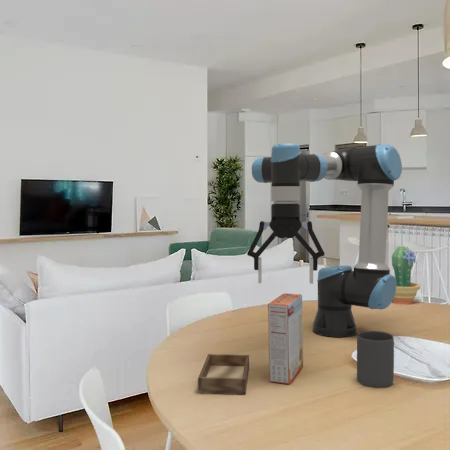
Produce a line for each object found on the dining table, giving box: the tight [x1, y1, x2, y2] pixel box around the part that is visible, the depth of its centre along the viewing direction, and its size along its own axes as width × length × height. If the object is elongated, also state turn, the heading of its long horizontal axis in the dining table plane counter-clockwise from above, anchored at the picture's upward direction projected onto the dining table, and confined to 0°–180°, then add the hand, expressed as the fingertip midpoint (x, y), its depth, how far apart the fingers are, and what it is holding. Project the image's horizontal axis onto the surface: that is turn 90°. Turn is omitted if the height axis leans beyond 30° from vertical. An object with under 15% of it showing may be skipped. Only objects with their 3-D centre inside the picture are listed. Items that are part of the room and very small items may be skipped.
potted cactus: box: [391, 245, 421, 305], centre depth 222 cm, size 15×15×25 cm
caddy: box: [197, 353, 250, 395], centre depth 130 cm, size 12×19×4 cm, turn 174°
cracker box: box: [267, 292, 304, 385], centre depth 133 cm, size 14×6×21 cm, turn 156°
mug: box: [356, 330, 395, 389], centre depth 130 cm, size 14×9×12 cm
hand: (285, 282), depth 132 cm, fingers open, 13 cm apart
